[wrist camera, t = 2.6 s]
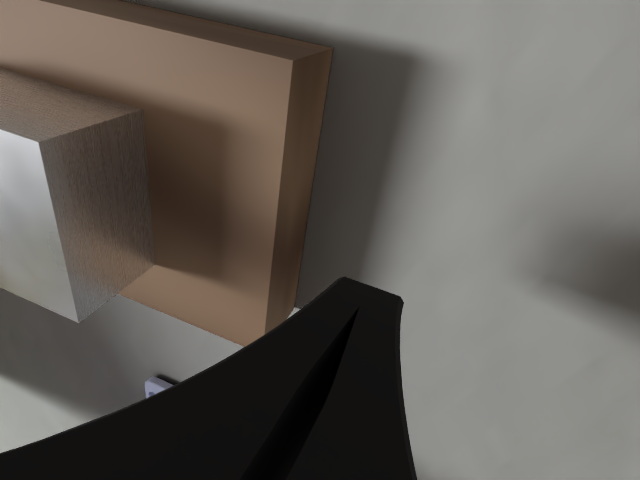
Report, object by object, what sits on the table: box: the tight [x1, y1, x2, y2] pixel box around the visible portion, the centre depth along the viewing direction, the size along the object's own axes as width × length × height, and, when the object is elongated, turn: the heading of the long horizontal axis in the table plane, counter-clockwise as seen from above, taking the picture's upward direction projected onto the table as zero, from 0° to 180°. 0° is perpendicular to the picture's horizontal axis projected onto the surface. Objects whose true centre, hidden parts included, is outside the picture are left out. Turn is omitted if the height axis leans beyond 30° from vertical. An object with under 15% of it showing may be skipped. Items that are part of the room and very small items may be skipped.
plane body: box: [0, 0, 333, 347], centre depth 14 cm, size 9×18×2 cm, turn 81°
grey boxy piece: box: [0, 68, 155, 323], centre depth 12 cm, size 5×6×3 cm
